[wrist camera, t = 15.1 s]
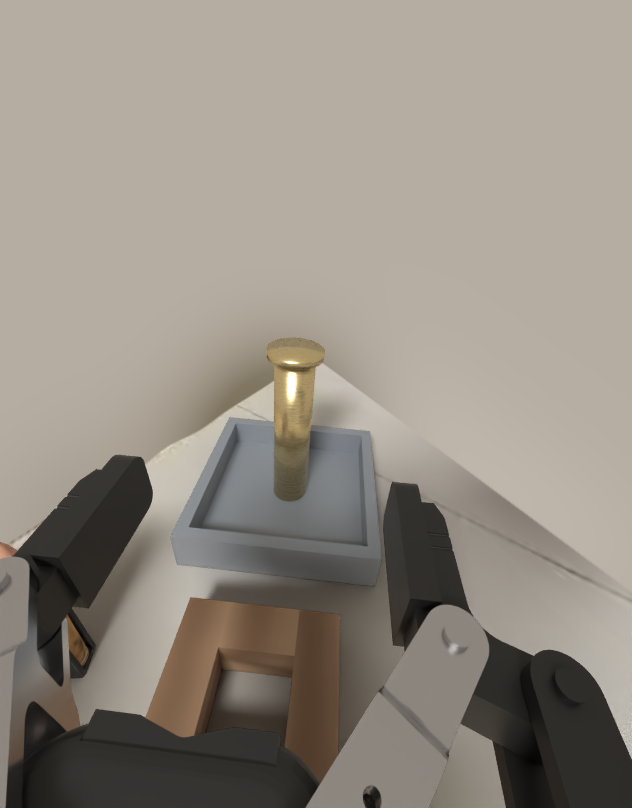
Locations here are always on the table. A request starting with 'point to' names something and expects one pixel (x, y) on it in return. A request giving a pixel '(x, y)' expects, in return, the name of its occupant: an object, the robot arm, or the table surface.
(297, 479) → the pin
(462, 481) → the table surface
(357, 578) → the slate tray
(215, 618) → the socket block
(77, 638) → the ammunition clip
